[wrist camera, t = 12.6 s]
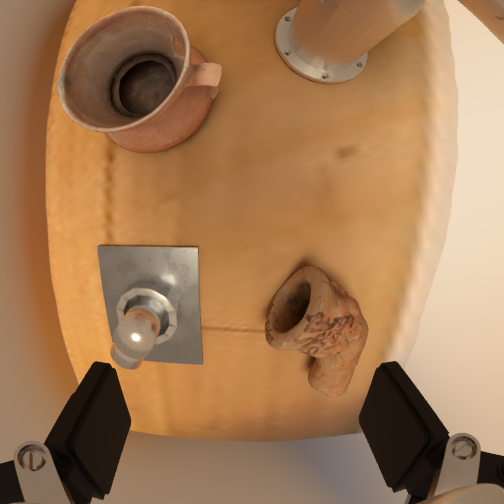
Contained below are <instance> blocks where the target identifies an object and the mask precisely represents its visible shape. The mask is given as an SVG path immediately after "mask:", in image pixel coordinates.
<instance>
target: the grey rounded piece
mask: <svg viewBox="0 0 504 504" xmlns="http://www.w3.org/2000/svg"><path fill="white" fill-rule="evenodd" d="M166 315H167V310H166V309H165V307H164V306H163V304H162V303H161V302H159V301H158V300H156V299H154V298H152V297H151V296H142V295H140V296H138V297H137V299H136V300H135V301H134V303H133V304H132V306H131V307H130V309H129V310H128V311H127V313H126V314H125V316H124V317H123V319H122V320H121V322H120V323H119V325H118V326H117V327H116V329H115V331H114V333H113V340H114V343H113V345H112V347H111V350H110V354H111V357H112V359H113V360H114V361H115V362H116V363H117V364H118V365H119V366H121V367H123V368H126V369H137V368H138V367H140V365H141V363H142V361H143V360H144V358H145V357H147V356H148V355H149V354H150V352H151V350H152V348H153V345H154V343H155V341H156V338H157V336H158V334H159V331H160V329H161V327H162V324H163V322H164V320H165V317H166Z"/></svg>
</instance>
